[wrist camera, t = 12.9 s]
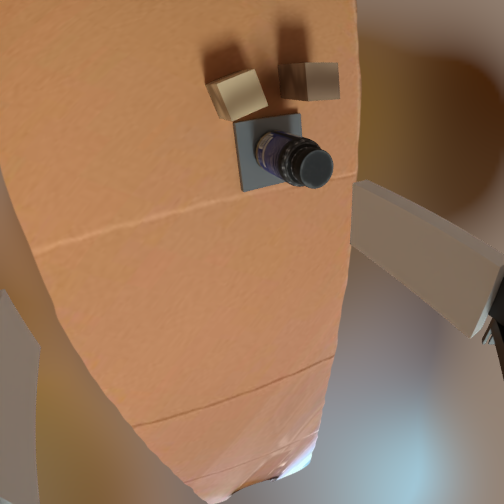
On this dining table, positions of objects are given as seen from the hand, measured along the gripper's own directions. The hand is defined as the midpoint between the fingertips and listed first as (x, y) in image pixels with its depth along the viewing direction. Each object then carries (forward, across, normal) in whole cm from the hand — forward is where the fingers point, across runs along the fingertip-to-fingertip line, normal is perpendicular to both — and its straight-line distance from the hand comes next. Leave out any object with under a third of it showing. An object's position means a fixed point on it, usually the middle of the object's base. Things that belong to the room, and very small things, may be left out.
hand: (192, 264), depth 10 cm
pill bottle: (+31, +18, -6) cm, 36 cm away
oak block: (+32, +13, +3) cm, 34 cm away
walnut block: (+32, +23, +4) cm, 39 cm away
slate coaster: (+32, +18, -6) cm, 37 cm away
